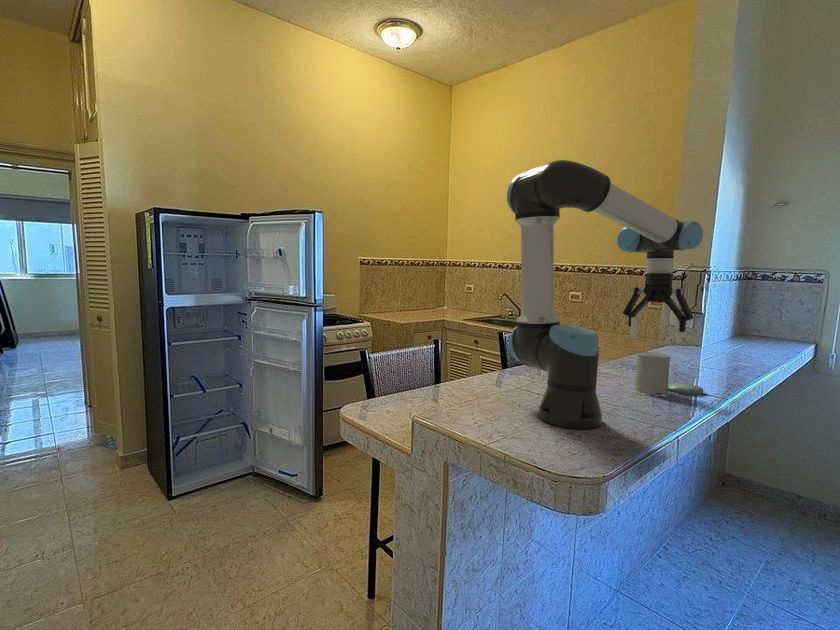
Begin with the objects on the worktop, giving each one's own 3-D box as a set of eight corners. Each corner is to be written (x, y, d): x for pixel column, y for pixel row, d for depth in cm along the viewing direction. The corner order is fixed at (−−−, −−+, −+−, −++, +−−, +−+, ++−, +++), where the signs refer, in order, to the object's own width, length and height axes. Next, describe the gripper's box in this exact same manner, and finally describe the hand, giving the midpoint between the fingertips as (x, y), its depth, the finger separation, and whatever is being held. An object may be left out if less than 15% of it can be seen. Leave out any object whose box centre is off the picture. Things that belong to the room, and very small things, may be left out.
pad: (663, 392, 140) (663, 387, 140) (664, 385, 150) (664, 380, 150) (703, 397, 135) (704, 392, 135) (702, 390, 144) (702, 385, 144)
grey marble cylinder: (665, 398, 133) (668, 358, 132) (631, 392, 139) (633, 354, 138) (669, 392, 141) (672, 354, 140) (637, 387, 147) (639, 350, 146)
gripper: (708, 272, 129) (703, 343, 131) (625, 272, 149) (621, 334, 151) (699, 272, 125) (694, 345, 127) (614, 272, 144) (610, 335, 146)
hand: (654, 339), depth 139 cm, fingers open, 13 cm apart
